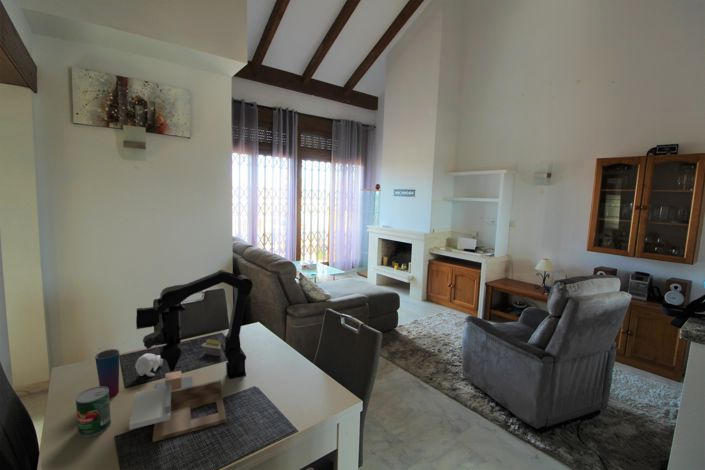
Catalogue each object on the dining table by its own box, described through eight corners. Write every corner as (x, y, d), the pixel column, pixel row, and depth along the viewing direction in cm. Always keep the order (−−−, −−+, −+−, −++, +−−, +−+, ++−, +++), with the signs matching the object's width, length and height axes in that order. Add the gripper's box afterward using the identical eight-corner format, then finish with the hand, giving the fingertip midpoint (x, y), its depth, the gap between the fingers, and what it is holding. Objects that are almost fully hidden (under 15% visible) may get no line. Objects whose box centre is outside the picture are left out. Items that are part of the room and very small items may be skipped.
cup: (109, 401, 114) (106, 359, 112) (92, 398, 115) (89, 357, 113) (126, 389, 120) (124, 350, 118) (110, 387, 121) (108, 348, 120)
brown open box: (220, 394, 119) (220, 379, 119) (226, 422, 105) (226, 406, 105) (156, 409, 110) (155, 393, 110) (152, 442, 96) (152, 424, 95)
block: (181, 383, 125) (181, 370, 124) (181, 390, 120) (181, 377, 120) (166, 386, 122) (165, 373, 122) (165, 393, 118) (165, 380, 117)
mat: (191, 377, 129) (191, 376, 129) (192, 394, 119) (192, 393, 119) (156, 384, 124) (156, 383, 124) (153, 403, 113) (153, 402, 113)
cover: (171, 389, 112) (171, 379, 111) (170, 419, 97) (169, 408, 97) (136, 396, 107) (135, 386, 107) (129, 429, 93) (128, 418, 92)
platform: (205, 346, 156) (204, 333, 155) (239, 351, 152) (239, 337, 151) (187, 358, 144) (186, 344, 143) (224, 364, 140) (223, 349, 139)
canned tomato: (74, 439, 96) (71, 404, 95) (83, 422, 103) (80, 389, 102) (107, 432, 99) (104, 398, 98) (114, 416, 106) (111, 384, 105)
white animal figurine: (133, 357, 126) (153, 345, 138) (133, 379, 126) (153, 365, 138) (149, 357, 126) (168, 346, 138) (149, 380, 126) (168, 366, 138)
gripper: (146, 317, 123) (148, 357, 125) (141, 337, 106) (143, 383, 108) (180, 313, 128) (181, 351, 130) (180, 332, 111) (182, 375, 113)
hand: (172, 364), depth 120 cm, fingers open, 9 cm apart
